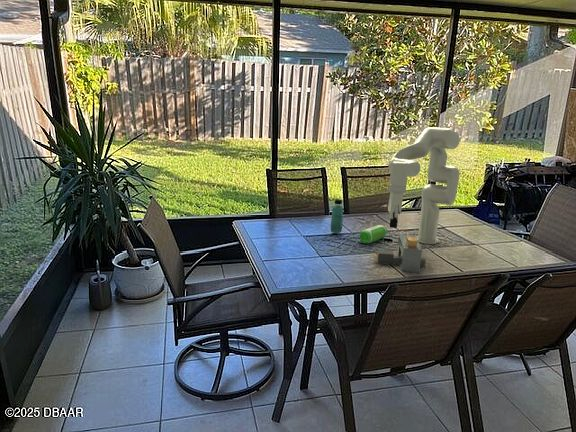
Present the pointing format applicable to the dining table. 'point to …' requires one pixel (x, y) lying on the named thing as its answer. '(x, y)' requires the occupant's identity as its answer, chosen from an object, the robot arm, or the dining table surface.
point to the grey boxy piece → (409, 253)
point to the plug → (391, 258)
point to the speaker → (373, 234)
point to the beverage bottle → (337, 217)
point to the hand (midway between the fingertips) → (393, 227)
